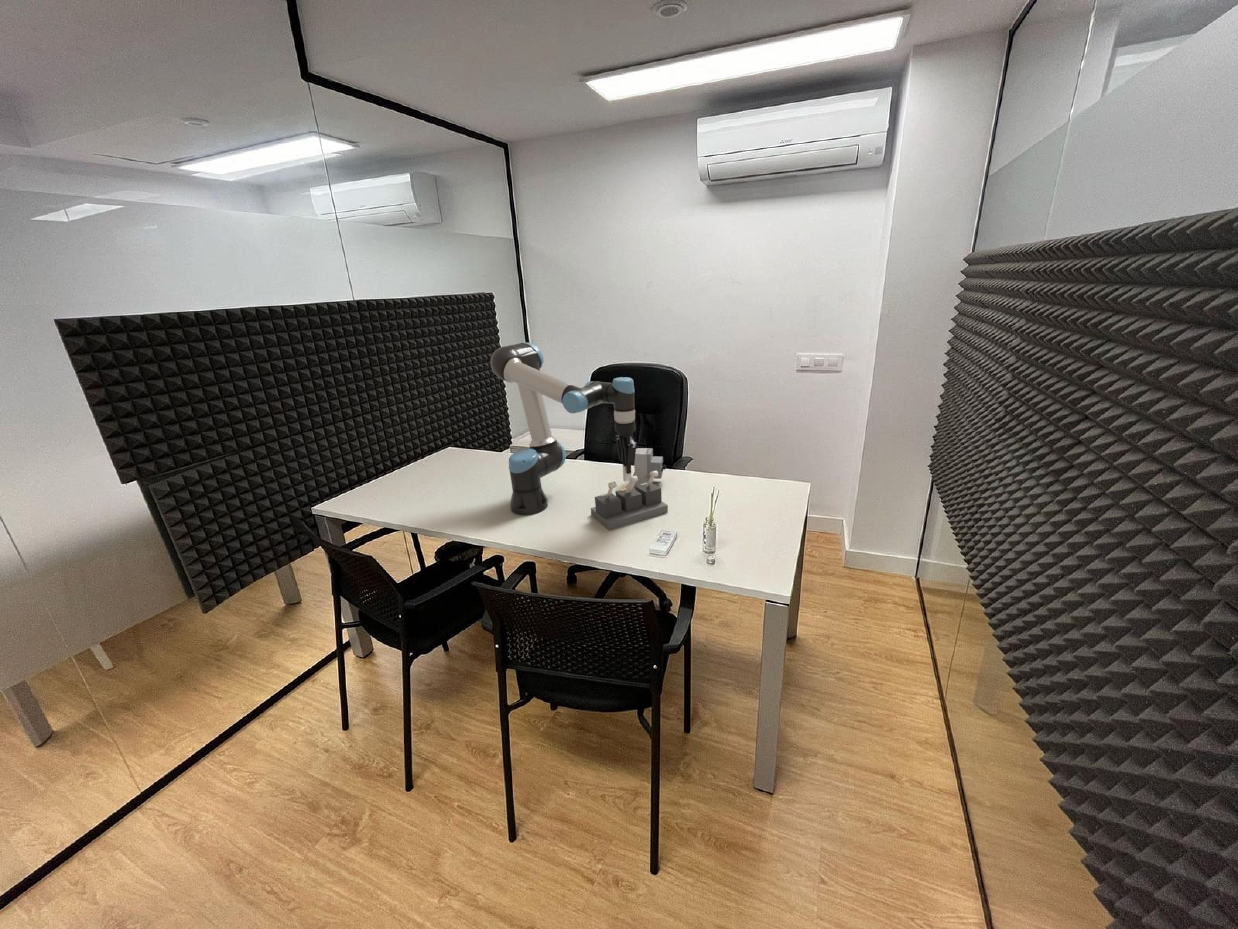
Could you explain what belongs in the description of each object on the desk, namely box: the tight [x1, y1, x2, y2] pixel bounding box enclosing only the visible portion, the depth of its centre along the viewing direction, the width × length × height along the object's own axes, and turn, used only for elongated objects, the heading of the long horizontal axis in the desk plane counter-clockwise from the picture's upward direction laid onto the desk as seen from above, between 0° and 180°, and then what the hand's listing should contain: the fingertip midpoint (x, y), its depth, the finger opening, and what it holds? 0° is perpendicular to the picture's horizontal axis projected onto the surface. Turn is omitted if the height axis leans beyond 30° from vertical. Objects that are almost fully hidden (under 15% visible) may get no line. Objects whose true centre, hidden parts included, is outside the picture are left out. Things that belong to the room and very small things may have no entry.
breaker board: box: [590, 471, 669, 531], centre depth 186 cm, size 15×26×17 cm, turn 119°
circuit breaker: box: [632, 447, 667, 486], centre depth 213 cm, size 8×14×15 cm, turn 78°
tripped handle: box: [625, 475, 638, 493], centre depth 182 cm, size 2×2×9 cm
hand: (627, 480), depth 184 cm, fingers closed
